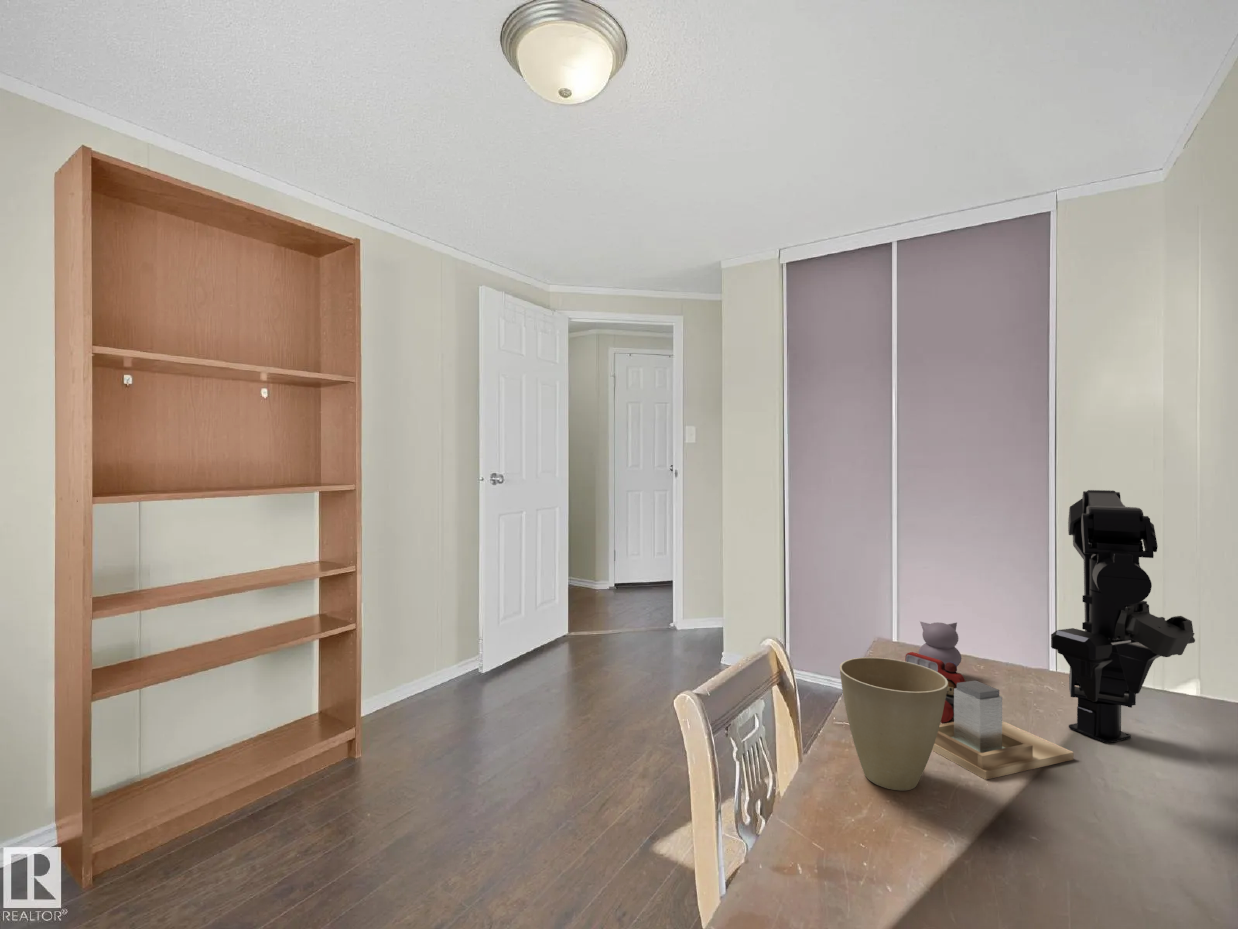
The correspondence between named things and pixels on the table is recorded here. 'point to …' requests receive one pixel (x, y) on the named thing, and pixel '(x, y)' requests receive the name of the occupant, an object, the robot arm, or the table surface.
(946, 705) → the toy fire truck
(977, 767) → the wooden tray
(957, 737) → the grey lidded container
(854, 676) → the plant pot
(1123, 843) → the table surface
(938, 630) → the cat figurine
